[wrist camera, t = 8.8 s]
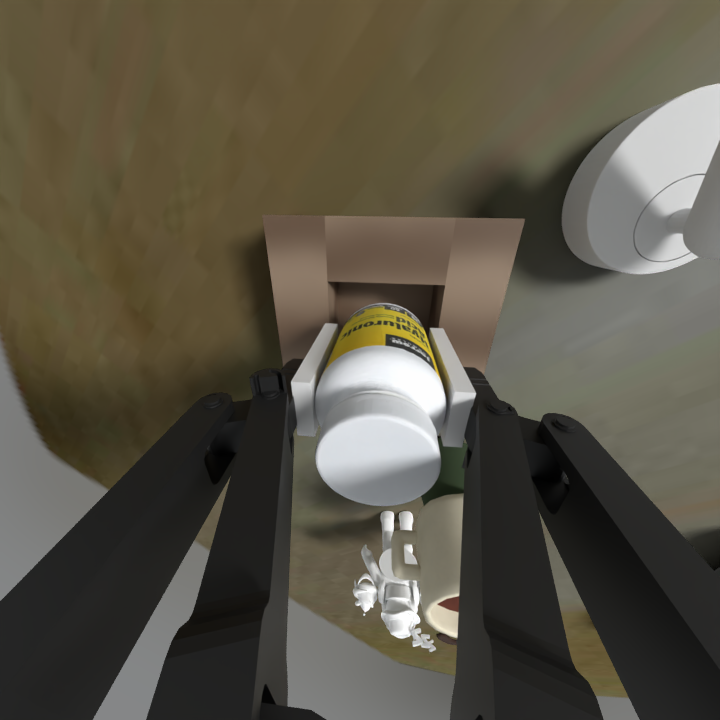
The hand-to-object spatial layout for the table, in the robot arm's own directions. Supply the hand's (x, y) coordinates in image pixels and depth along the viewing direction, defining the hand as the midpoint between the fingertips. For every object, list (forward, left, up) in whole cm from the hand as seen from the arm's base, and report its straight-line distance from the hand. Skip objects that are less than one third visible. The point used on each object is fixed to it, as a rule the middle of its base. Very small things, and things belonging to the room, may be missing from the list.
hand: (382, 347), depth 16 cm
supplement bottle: (0, 0, -1) cm, 1 cm away
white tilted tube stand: (-9, +15, -6) cm, 19 cm away
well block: (0, 0, -6) cm, 6 cm away
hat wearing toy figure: (+26, +3, -6) cm, 27 cm away
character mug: (+15, +7, -6) cm, 18 cm away
